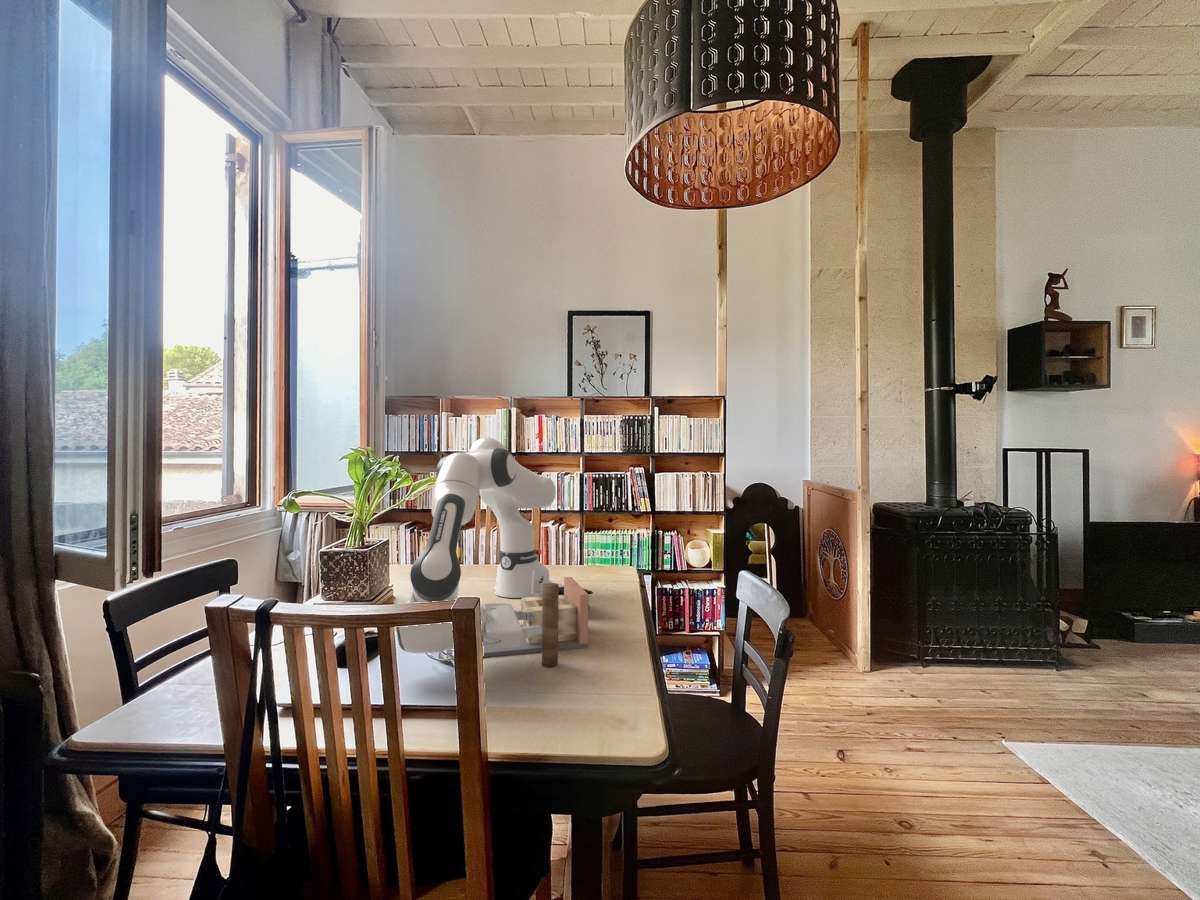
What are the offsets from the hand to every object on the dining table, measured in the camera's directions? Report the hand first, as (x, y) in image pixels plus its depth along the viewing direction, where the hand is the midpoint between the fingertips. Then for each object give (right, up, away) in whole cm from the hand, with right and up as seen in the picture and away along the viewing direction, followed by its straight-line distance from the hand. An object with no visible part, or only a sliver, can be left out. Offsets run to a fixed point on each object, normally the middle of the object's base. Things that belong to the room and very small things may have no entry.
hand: (537, 622), depth 127 cm
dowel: (+3, -10, +1) cm, 10 cm away
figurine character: (+5, -9, +40) cm, 42 cm away
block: (+1, -8, +18) cm, 20 cm away
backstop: (-4, -9, +16) cm, 19 cm away
